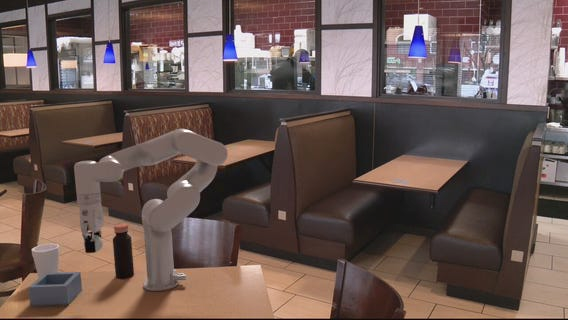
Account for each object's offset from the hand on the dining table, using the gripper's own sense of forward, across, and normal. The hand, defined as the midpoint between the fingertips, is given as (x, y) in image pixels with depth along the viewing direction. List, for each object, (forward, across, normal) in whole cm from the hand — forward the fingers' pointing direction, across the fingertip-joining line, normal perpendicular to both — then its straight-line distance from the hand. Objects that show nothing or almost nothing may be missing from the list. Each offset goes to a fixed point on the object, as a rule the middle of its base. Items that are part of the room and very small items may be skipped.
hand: (94, 248), depth 175 cm
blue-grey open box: (+17, 0, +14) cm, 22 cm away
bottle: (+18, +19, -4) cm, 26 cm away
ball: (-2, 0, 0) cm, 2 cm away
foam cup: (+17, +17, +24) cm, 34 cm away
